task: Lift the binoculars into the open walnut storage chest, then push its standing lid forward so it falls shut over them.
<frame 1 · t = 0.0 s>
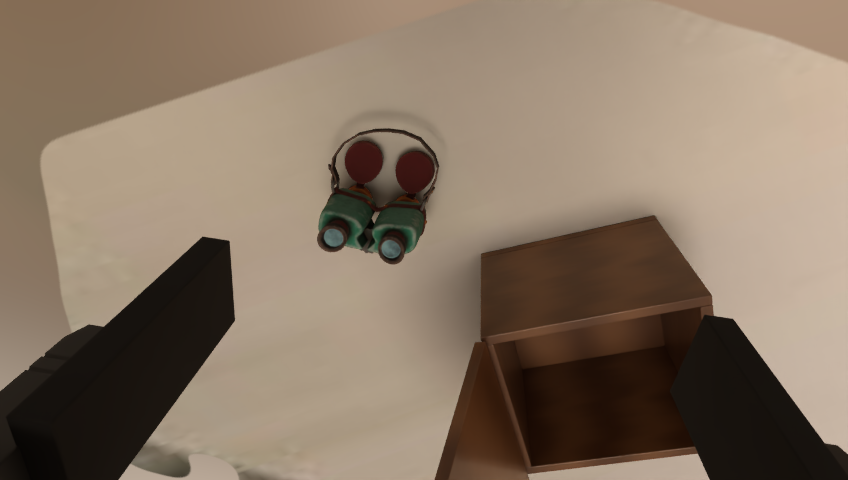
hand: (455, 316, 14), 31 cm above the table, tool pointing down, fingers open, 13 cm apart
chest: (578, 300, 49), on the table
binoculars: (387, 171, 46), on the table
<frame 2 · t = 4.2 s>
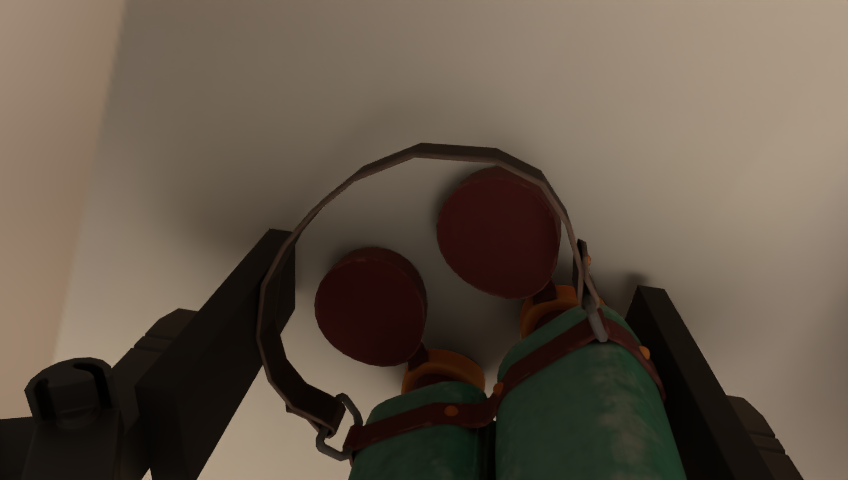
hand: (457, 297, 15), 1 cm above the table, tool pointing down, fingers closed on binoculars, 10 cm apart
binoculars: (447, 276, 16), on the table, touching gripper
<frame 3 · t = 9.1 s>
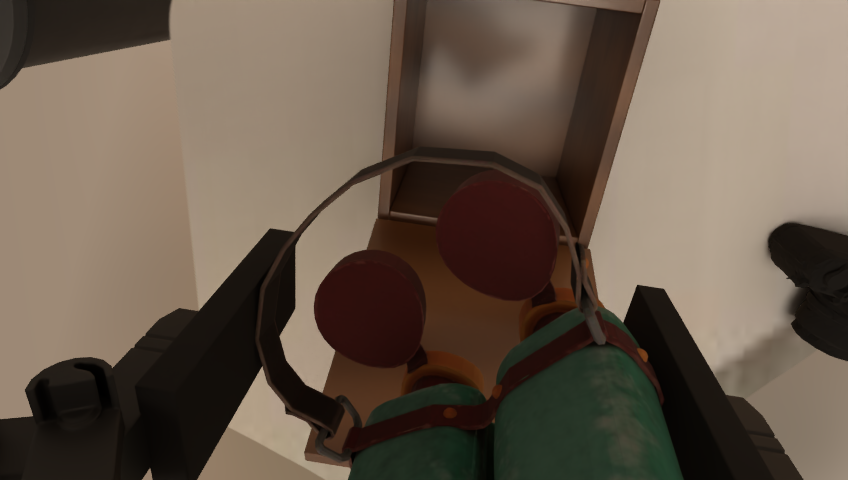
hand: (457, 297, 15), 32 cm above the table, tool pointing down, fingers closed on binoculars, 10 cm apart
film camera: (827, 276, 48), on the table
chest: (496, 85, 43), on the table
binoculars: (447, 278, 16), point 31 cm above the table, touching gripper
lid: (475, 334, 29), point 21 cm above the table, hinge at 105.1°
when the fingers open (13 cm above the table, at t = 14.8 s): binoculars stays where it is, resting on chest.
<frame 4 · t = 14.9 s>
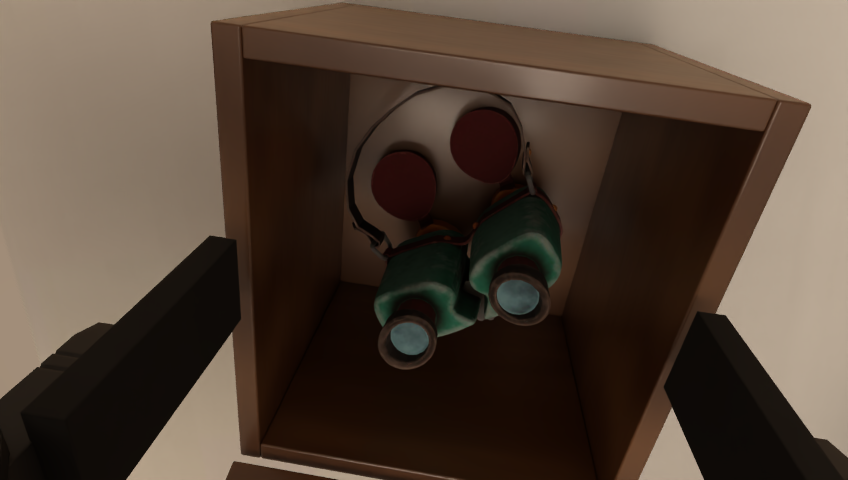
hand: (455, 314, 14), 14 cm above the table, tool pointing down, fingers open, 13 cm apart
chest: (469, 180, 27), on the table
binoculars: (450, 174, 27), point 1 cm above the table, touching chest
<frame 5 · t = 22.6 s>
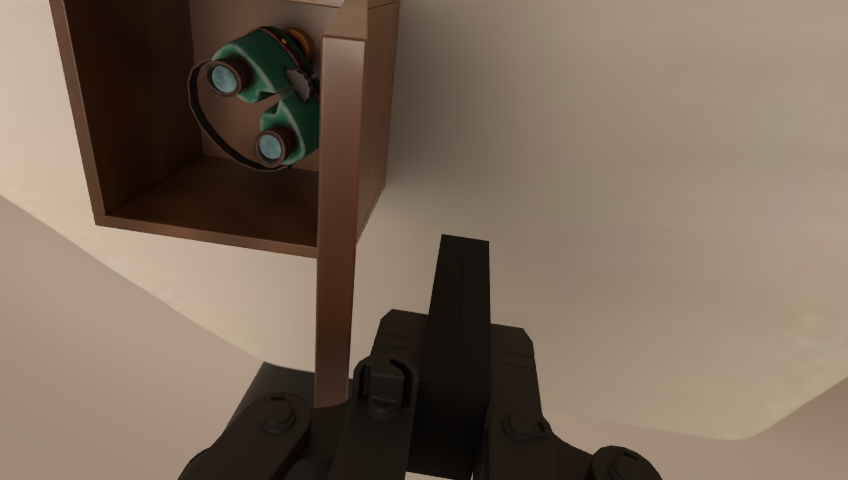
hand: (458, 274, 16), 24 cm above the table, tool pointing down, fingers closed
chest: (290, 82, 39), on the table
binoculars: (282, 96, 39), point 1 cm above the table, touching chest
lid: (345, 215, 19), point 21 cm above the table, hinge at 101.5°
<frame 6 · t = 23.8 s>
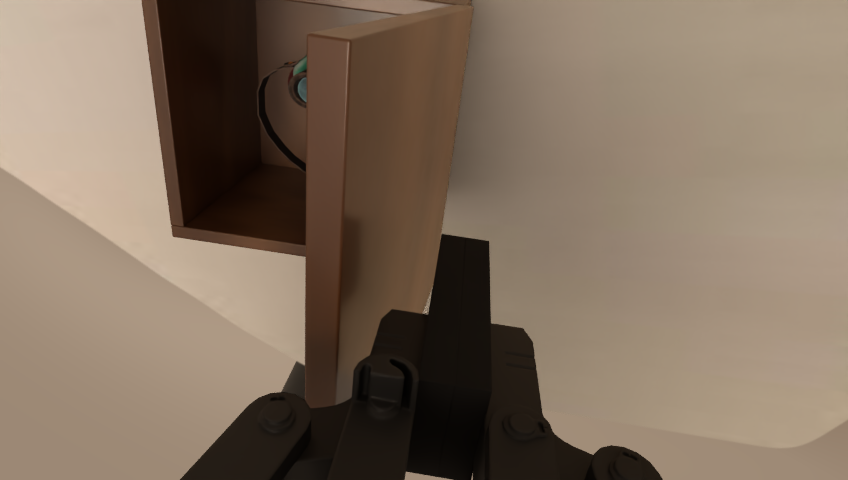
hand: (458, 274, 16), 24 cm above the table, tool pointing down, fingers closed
chest: (353, 90, 38), on the table
binoculars: (345, 104, 38), point 1 cm above the table, touching chest
lid: (405, 225, 19), point 21 cm above the table, hinge at 83.9°, touching gripper
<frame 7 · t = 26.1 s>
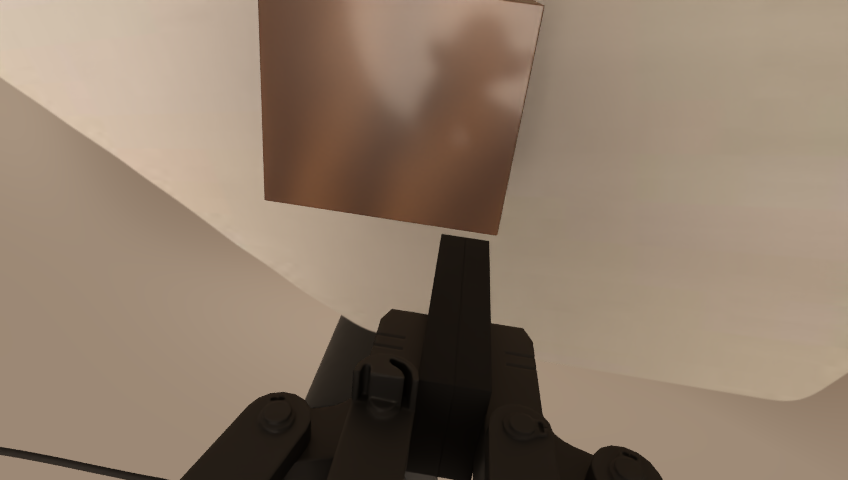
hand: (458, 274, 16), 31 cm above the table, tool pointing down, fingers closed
lid: (389, 112, 33), point 13 cm above the table, hinge at -0.1°
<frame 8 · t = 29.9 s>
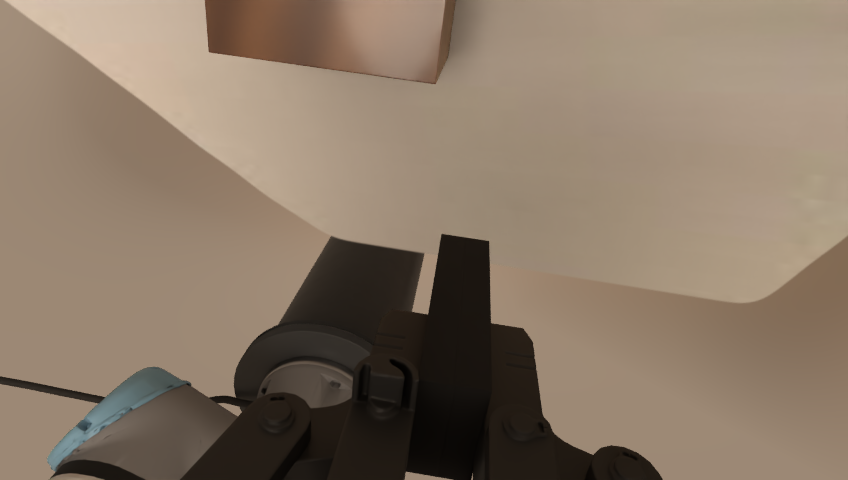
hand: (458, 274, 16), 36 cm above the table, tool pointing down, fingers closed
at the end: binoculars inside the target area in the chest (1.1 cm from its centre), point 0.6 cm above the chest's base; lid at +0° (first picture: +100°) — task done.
